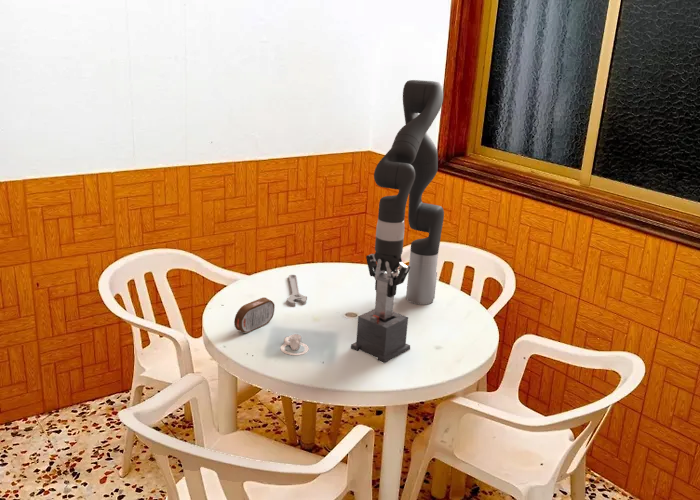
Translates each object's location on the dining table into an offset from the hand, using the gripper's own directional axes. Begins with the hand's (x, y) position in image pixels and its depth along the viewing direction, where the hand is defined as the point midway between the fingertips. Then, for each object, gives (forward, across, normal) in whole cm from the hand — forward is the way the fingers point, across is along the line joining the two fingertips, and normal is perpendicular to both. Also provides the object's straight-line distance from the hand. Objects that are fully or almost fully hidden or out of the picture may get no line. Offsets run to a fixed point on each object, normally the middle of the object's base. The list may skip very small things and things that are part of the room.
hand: (385, 294), depth 185 cm
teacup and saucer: (+17, +17, +15) cm, 29 cm away
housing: (+17, 0, 0) cm, 17 cm away
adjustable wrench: (+18, +45, -12) cm, 50 cm away
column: (+14, 0, 0) cm, 14 cm away
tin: (+17, +34, +17) cm, 42 cm away
